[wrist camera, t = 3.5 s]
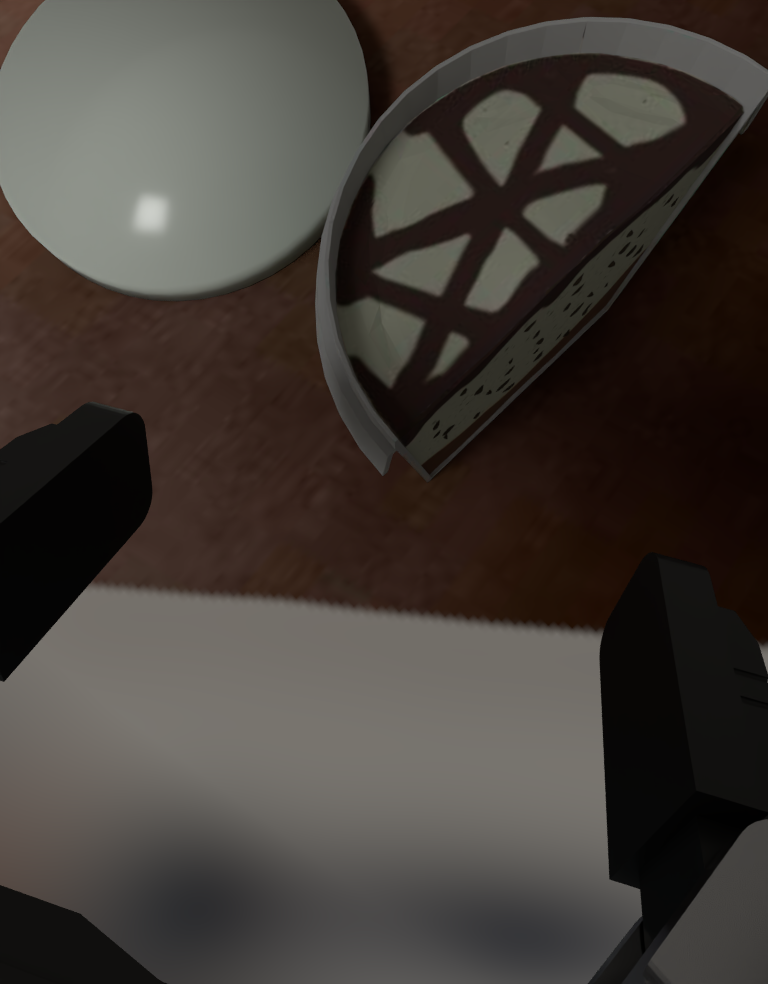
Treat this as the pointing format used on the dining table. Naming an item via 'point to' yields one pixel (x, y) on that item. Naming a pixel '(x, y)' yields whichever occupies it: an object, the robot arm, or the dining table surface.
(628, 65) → the food container
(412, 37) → the dining table surface
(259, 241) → the serving plate
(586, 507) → the dining table surface
